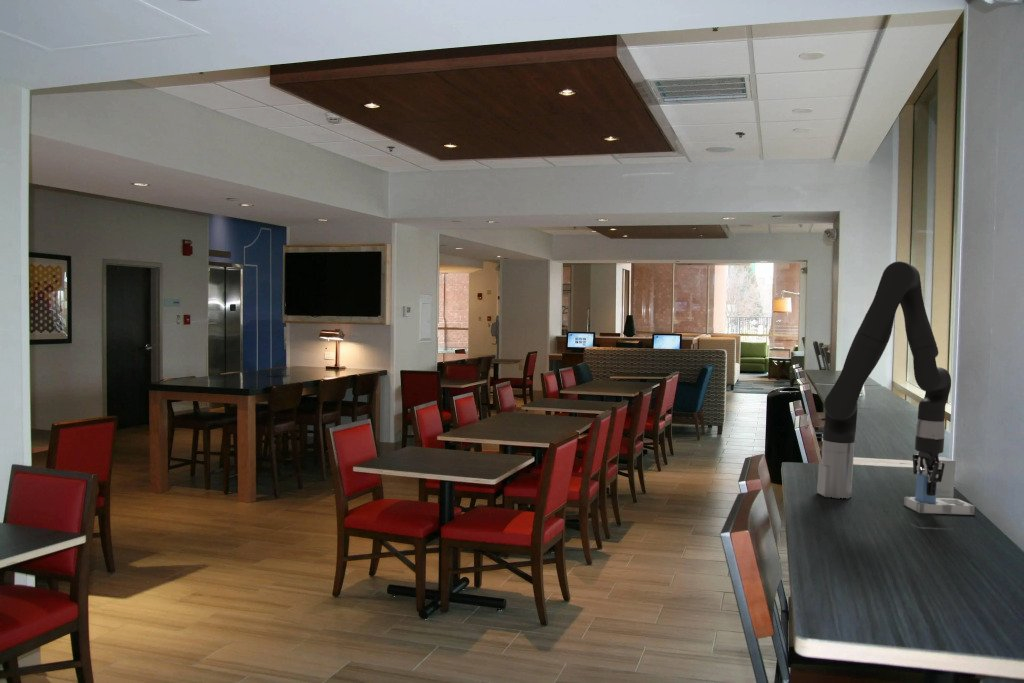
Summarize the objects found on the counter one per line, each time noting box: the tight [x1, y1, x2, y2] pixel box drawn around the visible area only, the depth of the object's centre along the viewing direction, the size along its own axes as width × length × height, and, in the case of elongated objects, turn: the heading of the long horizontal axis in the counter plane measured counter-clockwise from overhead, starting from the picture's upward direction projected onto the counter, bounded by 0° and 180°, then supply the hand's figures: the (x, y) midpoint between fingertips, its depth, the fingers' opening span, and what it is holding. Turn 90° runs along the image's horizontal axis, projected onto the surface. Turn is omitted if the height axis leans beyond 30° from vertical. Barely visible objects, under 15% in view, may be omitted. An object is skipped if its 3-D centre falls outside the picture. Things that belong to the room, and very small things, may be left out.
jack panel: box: [903, 496, 975, 516], centre depth 247 cm, size 16×9×3 cm, turn 91°
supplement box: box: [930, 456, 957, 498], centre depth 265 cm, size 7×7×13 cm
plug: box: [914, 471, 937, 503], centre depth 246 cm, size 4×4×11 cm
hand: (926, 492), depth 246 cm, fingers open, 5 cm apart
